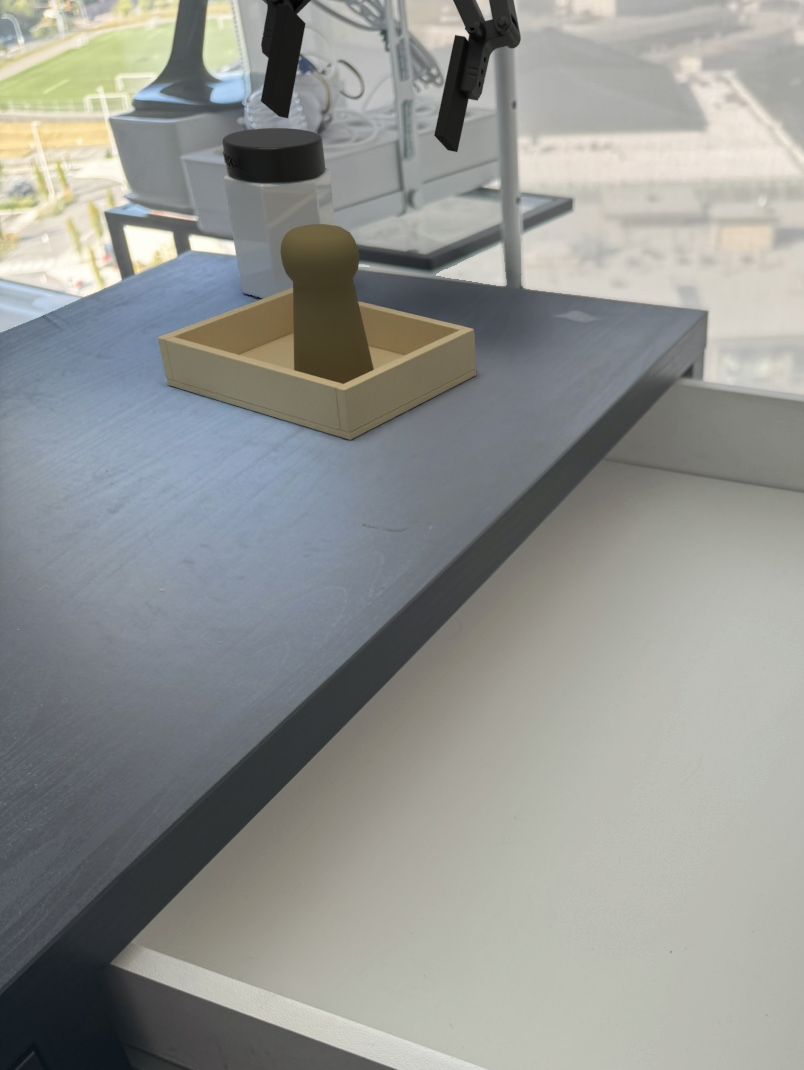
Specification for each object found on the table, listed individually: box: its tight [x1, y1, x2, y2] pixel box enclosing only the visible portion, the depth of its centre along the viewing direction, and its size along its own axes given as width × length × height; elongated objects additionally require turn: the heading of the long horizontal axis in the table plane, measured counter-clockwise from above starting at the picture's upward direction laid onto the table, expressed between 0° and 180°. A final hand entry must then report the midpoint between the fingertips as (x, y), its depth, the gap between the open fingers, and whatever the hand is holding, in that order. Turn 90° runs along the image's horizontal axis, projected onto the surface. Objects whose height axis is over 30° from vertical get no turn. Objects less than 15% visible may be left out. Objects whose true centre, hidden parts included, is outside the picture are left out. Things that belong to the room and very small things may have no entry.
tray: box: [157, 288, 477, 441], centre depth 86 cm, size 18×15×4 cm
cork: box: [280, 224, 374, 384], centre depth 81 cm, size 6×6×11 cm
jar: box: [222, 127, 337, 299], centre depth 100 cm, size 9×8×12 cm
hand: (358, 127), depth 84 cm, fingers open, 13 cm apart
